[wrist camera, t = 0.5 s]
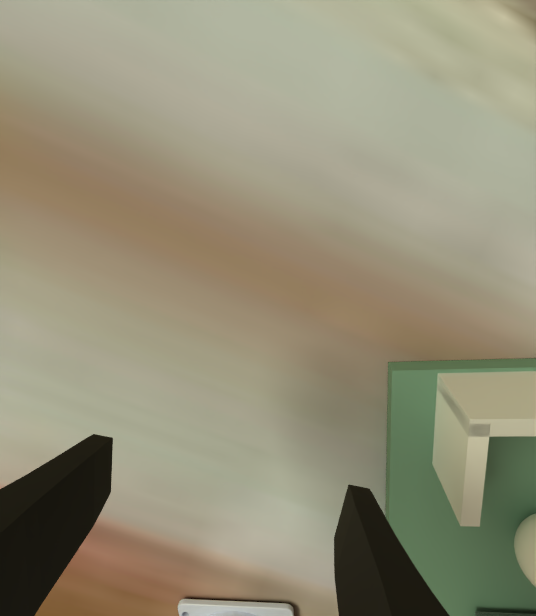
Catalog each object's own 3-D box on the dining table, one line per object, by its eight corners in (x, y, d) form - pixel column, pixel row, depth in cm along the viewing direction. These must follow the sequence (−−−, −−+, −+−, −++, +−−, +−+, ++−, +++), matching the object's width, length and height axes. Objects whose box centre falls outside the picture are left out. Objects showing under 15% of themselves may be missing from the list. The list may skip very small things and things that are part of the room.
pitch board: (625, 706, 26) (637, 726, 25) (382, 689, 28) (385, 707, 27) (731, 353, 18) (754, 361, 17) (388, 362, 20) (392, 370, 19)
